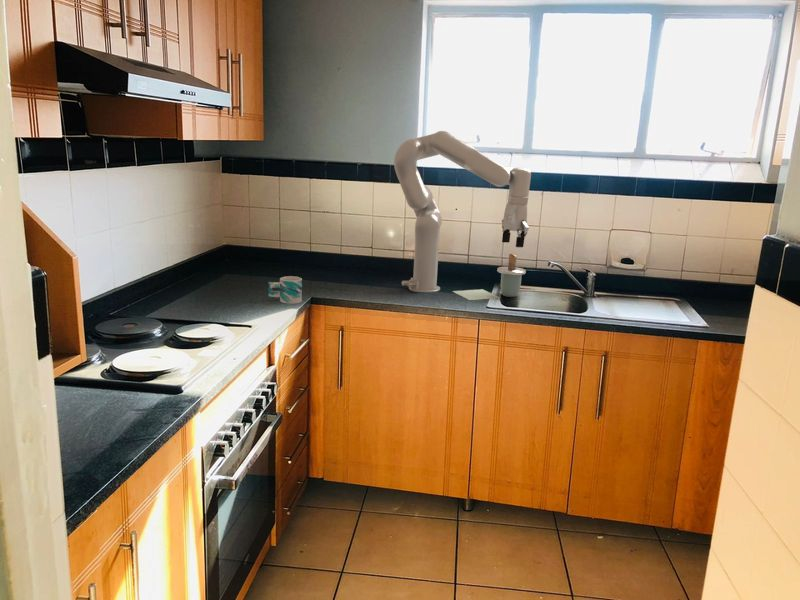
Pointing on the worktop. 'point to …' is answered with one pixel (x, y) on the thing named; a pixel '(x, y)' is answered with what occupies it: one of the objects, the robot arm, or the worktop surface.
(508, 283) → the cup
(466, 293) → the mat
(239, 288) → the worktop surface
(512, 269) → the lid
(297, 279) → the mug
